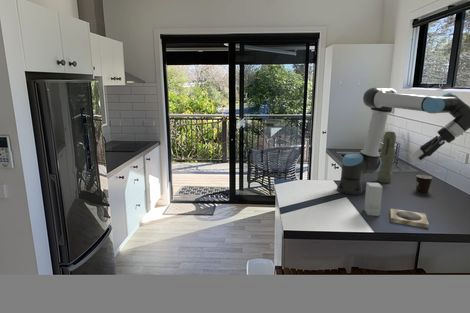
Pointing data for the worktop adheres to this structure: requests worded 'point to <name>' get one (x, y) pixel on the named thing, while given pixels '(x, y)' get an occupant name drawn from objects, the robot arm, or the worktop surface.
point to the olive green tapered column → (387, 157)
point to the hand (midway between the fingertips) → (411, 160)
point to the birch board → (409, 218)
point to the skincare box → (373, 199)
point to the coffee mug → (423, 183)
